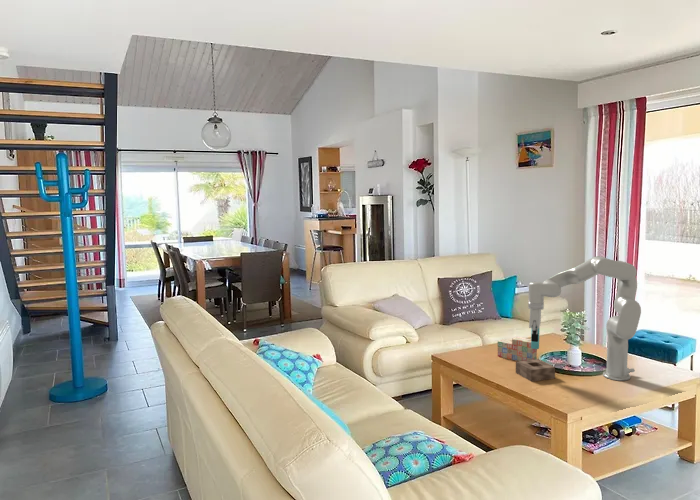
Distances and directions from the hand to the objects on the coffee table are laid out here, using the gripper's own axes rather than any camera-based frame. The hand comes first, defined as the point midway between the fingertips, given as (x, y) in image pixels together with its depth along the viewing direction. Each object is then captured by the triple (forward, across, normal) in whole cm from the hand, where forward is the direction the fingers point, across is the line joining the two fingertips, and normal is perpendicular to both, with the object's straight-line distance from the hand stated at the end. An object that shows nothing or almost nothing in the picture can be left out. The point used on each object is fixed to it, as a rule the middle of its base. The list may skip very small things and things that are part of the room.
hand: (535, 339), depth 276 cm
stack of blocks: (+19, -26, -12) cm, 35 cm away
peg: (+4, 0, 0) cm, 4 cm away
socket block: (+19, 0, 0) cm, 19 cm away
